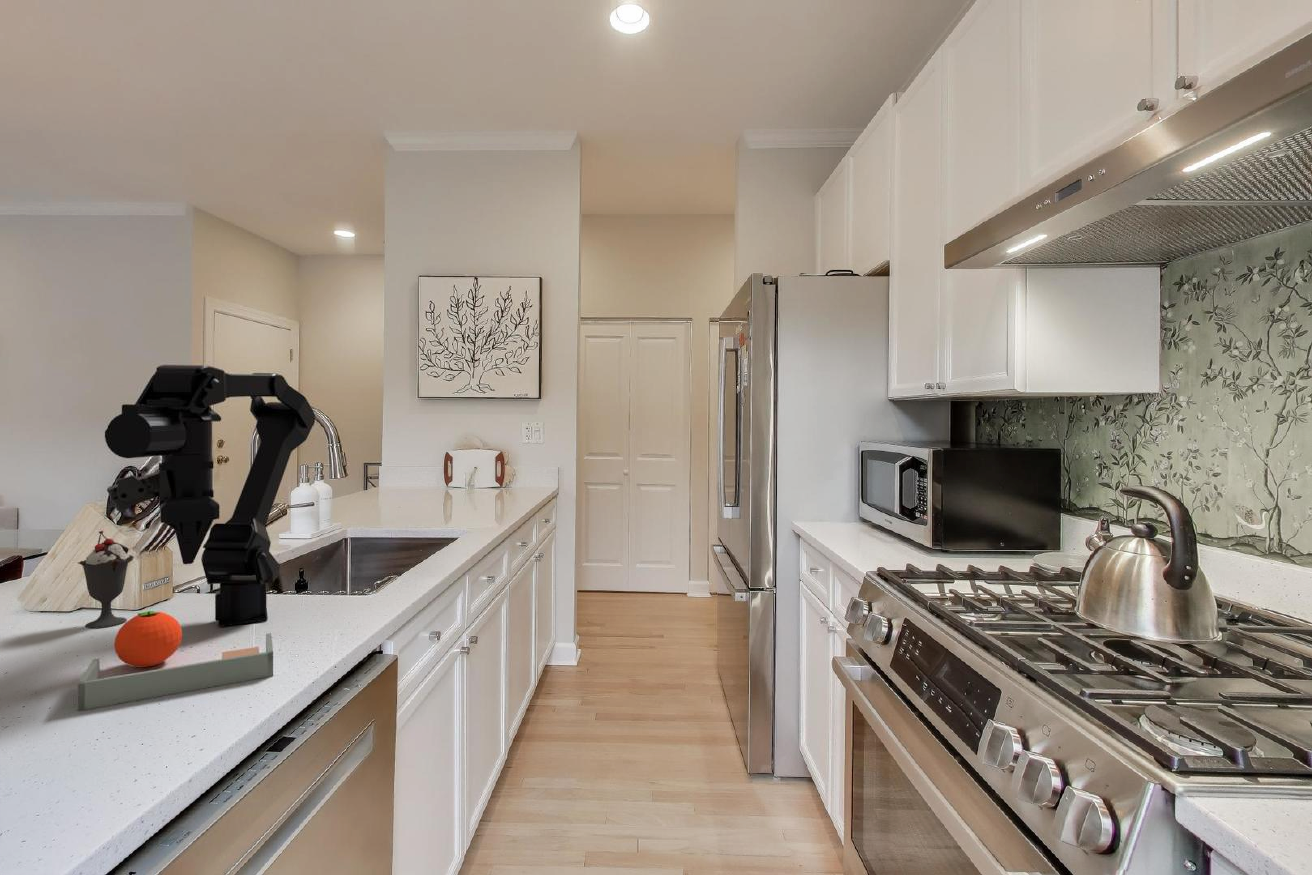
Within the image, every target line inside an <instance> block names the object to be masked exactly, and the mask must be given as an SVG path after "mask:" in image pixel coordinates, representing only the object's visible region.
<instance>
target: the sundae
mask: <svg viewBox="0 0 1312 875" xmlns="http://www.w3.org/2000/svg"><path fill="white" fill-rule="evenodd" d="M98 534H99V536H98V541H97V544H96V545H95V546H94V549H93V550H92V552H90V553H89V555H88V556H87V557H86V559H85V560H80V561H78V562H77V564H78V565H81V566H82V568H83V571H84V576H85V581H86V587H87V591H88V595H89V597H91V598H92V599H93V600H95V601H97V602H100V604H101V610H100V614H99V616H98V618H97V619H95V620H93V621H90V622H87V623H86V624H85V625H84V627H85V628H87V629H104V628H110V627H115V626H118V625H122V624H123V623H124V624H125V623H126V622H128V619H127V618H126V617H121V616H115V615H114V613H113V610H112V602H113V601H114V600H115V599H116V598H118V597H119V596H120V595H121V594H122V593H123V591H124V586H125V583H126V577H127V569H128V565H129V563H131V562H132V561H133V560H134V556H133V555H131V554H129V553H128V552H129V550H130V549H129V547H127V546H125V545H123V544H122V543H119V542H115V541H114V539H113V538H107V537H106V536H105V535H104V530H100V531H98ZM101 536H102V537H103V538H104V539H105V540H104V541H103V542H101ZM100 542H101V543H100Z"/></svg>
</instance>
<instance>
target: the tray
mask: <svg viewBox="0 0 1312 875" xmlns="http://www.w3.org/2000/svg"><path fill="white" fill-rule="evenodd" d="M273 648H274V647H273V637H272V632H269V633H265V652H259V653H257V654H251V655H245V656H239V657H232V658H226V659H222V658H221V659H214V660H208V661H203V662H202V661H201V662H195V663H191V664H189V663H188V664H182V665H177V666H170V667H165V668H159V669H153V670H147V671H140V672H134V673H133V672H132V673H128V674H119V675H115V676H110V677H109V676H108V677H103V678H101V668H100V666H101V657H100V658H99V657H98V658H93V659H92V661H91V662H90V663H89V666H88V667H87V668H86V670H85V671H84V673H83V675H82V677H80V680H79V681H78V683H77V711H79V712H80V711H83V710H89V709H90V710H91V709H95V708H101V707H107V706H112V705H117V704H122V703H129V702H134V701H139V700H140V701H141V700H145V699H151V698H157V697H162V696H167V695H173V694H177V693H179V694H180V693H184V692H190V691H195V690H201V689H205V688H213V687H218V686H223V685H228V684H234V683H240V682H245V681H246V682H247V681H250V680H257V679H262V678H268V677H273V676H274V649H273Z"/></svg>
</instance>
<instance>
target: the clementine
mask: <svg viewBox="0 0 1312 875" xmlns="http://www.w3.org/2000/svg"><path fill="white" fill-rule="evenodd" d="M182 636H183V630H182V626H181V625H180V623H179V621H178V620H177V619H176V618H174V617H173V616H172V615H170V614H168V613H166V612H161V611H153V610H150V611H149V610H148V611H144V612H137V615H135V616H133V617H132V618H130V619H129V620H127V621H126V622H124V624H123V625H122V626H121V628H120V629H119V630H118V632H117V633H116V636H115V638H114V642H113V643H114V651H115V654H116V656H117V657H118V658H119V660H121V661H122V662H123V663H124V664H125V665H129V666H131V667H136V668H147V667H149V668H150V667H153V666H155V665H158V664H161V663H163V662H165V661H166V660H167V659H169V658H170V657H171V656H172V655H174V653H175V652H176V651H177V650H178V649H179V646H180V644H181V642H182Z"/></svg>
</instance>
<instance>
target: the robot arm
mask: <svg viewBox="0 0 1312 875" xmlns="http://www.w3.org/2000/svg"><path fill="white" fill-rule="evenodd" d="M238 397H239V398H241V397H242V398H244V397H249V398H250V399H251V402H250V408H249V411H250V413H251V415H252V416H253V417H254V419H255V420H256V423H255V429H256V430H255V431H256V432H257V435H258V438H259V440H260V443H259V446H258V448H257V450H256V453H255V456H254V458H253V462H252V464H251V466H250V468H249V471H248V474H247V477H246V480H245V481H244V484H243V487H242V490H241V492H240V495H239V498H238V500H237V503H236V506H235V508H234V510H233V513H232V515H231V517H230V518H229V519H228V520H227V521H226V522H225V523H221V522H220V523H214V524H213V522H214V520H219V519H220V504H219V502H218V501H217V500H215V499H214V498H215V497H214V493H215V492H214V489H213V469H214V460H213V422H214V423H215V422H219V423H220V422H221V421H222V416H220V415H219V413H218V412H216V411H215V410H213V409H212V407H211V406H214V405H217V404H221V403H224V402H225V401H226V400H227V399H229V398H238ZM264 397H265V398H266V397H267V398H268V397H269V398H276V399H277V400H278V401H268V402H265V400H264V399H263V398H264ZM315 423H316V416H315V412H314V410H313V408H312V407H311V405H310V403H309V401H308V399H307V398H306V396H304V395H303V394H302V393H301V392H299V391H297V390H296V389H294V388H293V387H292V386H290V385H289V383H288V381H287V380H286V378H285V376H283V375H281V374H278V373H275V372H254V373H251V374H250V373H247V374H245V373H227V372H226V371H224V370H223V369H221V368H218V367H214V366H211V365H197V364H196V365H195V364H163V365H159V366H157V367H156V370H155V372H154V374H153V375H152V376H151V377H150V380H149V381H148V383H147V384H146V386H145V387H144V389H143V391H142V392H141V393H140V395H139V397H138V398H137V401H136V402H135V403H134V404H130V403H129V404H128V403H127V404H126V403H125V404H124V403H123V404H122V405H121V413H120V414H119V415H116V416H114V417H113V419H111V420H110V422H109V423H108V425H107V428H106V429H105V431H104V441H105V444H106V446H107V448H108V449H109V450H110V451H111V453H113V454H114V455H116V456H118V457H120V458H124V459H135V458H136V459H139V458H149V457H150V458H151V457H161V460H160V462H159V463H158V471H156V472H151V473H149V474H145V475H142V476H139V477H136V476H135V475H133V474H131V475H129V476H126V477H123V478H118V482H117V483H116V484H113V485H111V486H108V487H107V488H106V492H107V493H108V495H109V498H110V499H111V501H112V503H113V506H114V507H115V510H116V511H117V512H121V511H125V510H127V509H130V508H132V506H135V505H137V504H141V503H143V502H146V501H150V500H152V499H156V498H157V497H158V507H159V511H160V513H159V514H160V516H159V517H160V518H159V519H160V520H159V521H160V524H165V525H167V526H168V527H170V528H171V529H173V530H174V533H175V536H176V540H177V544H178V547H179V548H178V549H179V553H180V557H181V561H182V564H183V565H192V564H193V563H194V562H195V559H196V557H197V555H198V553H199V550H200V548H203V549H204V550H203V551H202V555H201V560H200V562H201V564H202V565H201V566H202V569H203V572H204V574H205V575H204V576H205V578H206V582H207V584H208V585H214V584H215V585H216V584H217V585H219V590H216V591H215V594H214V595H215V596H214V597H215V598H214V600H215V601H214V604H215V606H214V609H215V610H214V611H215V612H214V614H215V615H214V617H215V618H214V620H215V621H216V622H217V621H218V627H220V628H221V627H227V626H228V627H229V626H234V625H235V626H236V625H242V624H243V625H244V624H251V623H257V622H264V621H267V620H268V619H269V618H268V617H269V616H268V610H267V608H268V607H267V606H268V605H267V599H268V598H267V594H268V590H267V584H269V583H273V582H276V579H278V578H279V574H280V567H281V565H280V563H279V562H278V561H277V559H276V558H275V557H274V556H273V554H272V553H271V552H270V548H271V543H272V542H271V539H270V536H269V533H268V530H267V527H266V526H267V522H268V520H269V517H270V514H271V511H272V508H273V505H274V503H275V500H276V497H277V495H278V491H279V488H280V485H281V483H282V480H283V478H284V474H285V471H286V468H287V465H288V463H289V460H290V458H291V454H292V452H293V451H294V450H296V449H297V448H298V447H299V446H300V445H302V444H303V443H305V442H306V441H307V439H308V437H309V435H310V433H311V431H312V429H313V427H314V425H315ZM212 524H213V526H212ZM209 530H210V531H209ZM208 533H209V534H208ZM207 535H208V538H207V539H206V542H205V543H204V540H205V538H206V536H207ZM203 543H204V544H203ZM202 544H203V545H202ZM201 546H202V547H201Z"/></svg>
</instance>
